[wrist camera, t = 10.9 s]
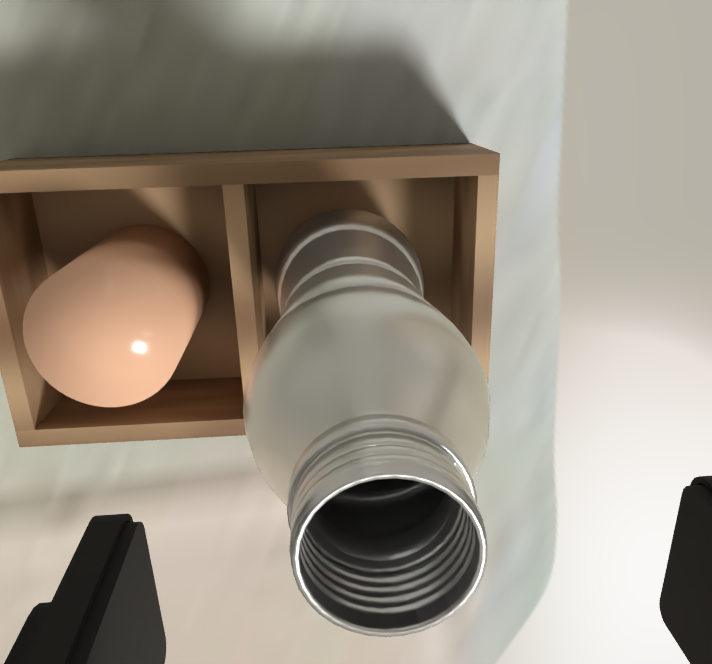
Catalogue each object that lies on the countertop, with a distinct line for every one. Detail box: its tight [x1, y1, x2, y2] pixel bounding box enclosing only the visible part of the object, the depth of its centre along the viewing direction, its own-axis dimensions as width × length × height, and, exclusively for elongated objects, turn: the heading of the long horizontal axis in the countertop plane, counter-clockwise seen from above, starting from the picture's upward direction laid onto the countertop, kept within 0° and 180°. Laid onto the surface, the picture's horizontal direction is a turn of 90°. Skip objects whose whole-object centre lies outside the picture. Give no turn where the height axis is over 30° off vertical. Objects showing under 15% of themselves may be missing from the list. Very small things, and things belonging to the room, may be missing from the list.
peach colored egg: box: [23, 224, 210, 407], centre depth 27 cm, size 6×6×7 cm
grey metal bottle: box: [243, 209, 490, 637], centre depth 21 cm, size 6×7×20 cm
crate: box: [0, 143, 500, 447], centre depth 28 cm, size 12×20×5 cm, turn 91°
